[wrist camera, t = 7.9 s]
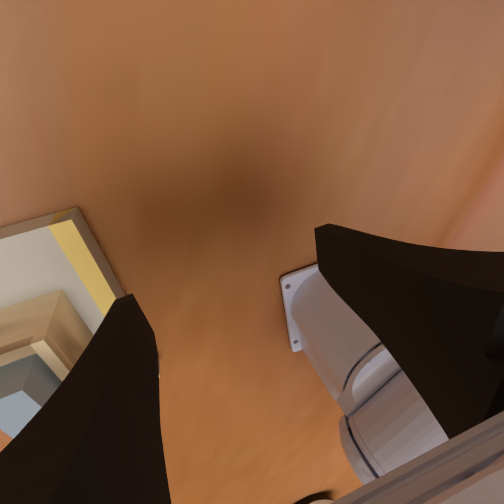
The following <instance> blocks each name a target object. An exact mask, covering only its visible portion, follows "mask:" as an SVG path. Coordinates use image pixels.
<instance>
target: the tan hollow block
mask: <svg viewBox="0 0 504 504" xmlns="http://www.w3.org/2000/svg"><path fill="white" fill-rule="evenodd" d="M93 336H94V335H93V334H92V332H91V331H90V329H89V328H88V326H87V325H86V324H85V322H84V321H83V319H82V318H81V316H80V315H79V313H78V312H77V310H76V309H75V307H74V306H73V304H72V303H71V301H70V300H69V298H68V297H67V296H66V294H65V293H64V291H63V290H62V289H61V290H58V291H55V292H52V293H48V294H45V295H42V296H39V297H36V298H33V299H30V300H26V301H23V302H20V303H17V304H14V305H11V306H8V307H5V308H1V309H0V367H1V366H3V365H6V364H9V363H11V362H14V361H16V360H19V359H21V358H24V357H27V356H30V355H33V354H35V353H37V354H38V355H39V356H40V357H41V358H42V359H43V360H44V361H45V363H46V364H47V365H48V366H49V367H50V368H51V369H52V371H53V372H54V373H55V374H56V375H57V376H58V378H59V379H60V380H61V381H63V380H64V379H65V378H66V376H67V375H68V373H69V372H70V371H71V369H72V368H73V366H74V365H75V363H76V362H77V360H78V359H79V357H80V356H81V354H82V353H83V351H84V350H85V348H86V347H87V345H88V344H89V342H90V341H91V339H92V337H93Z"/></svg>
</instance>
